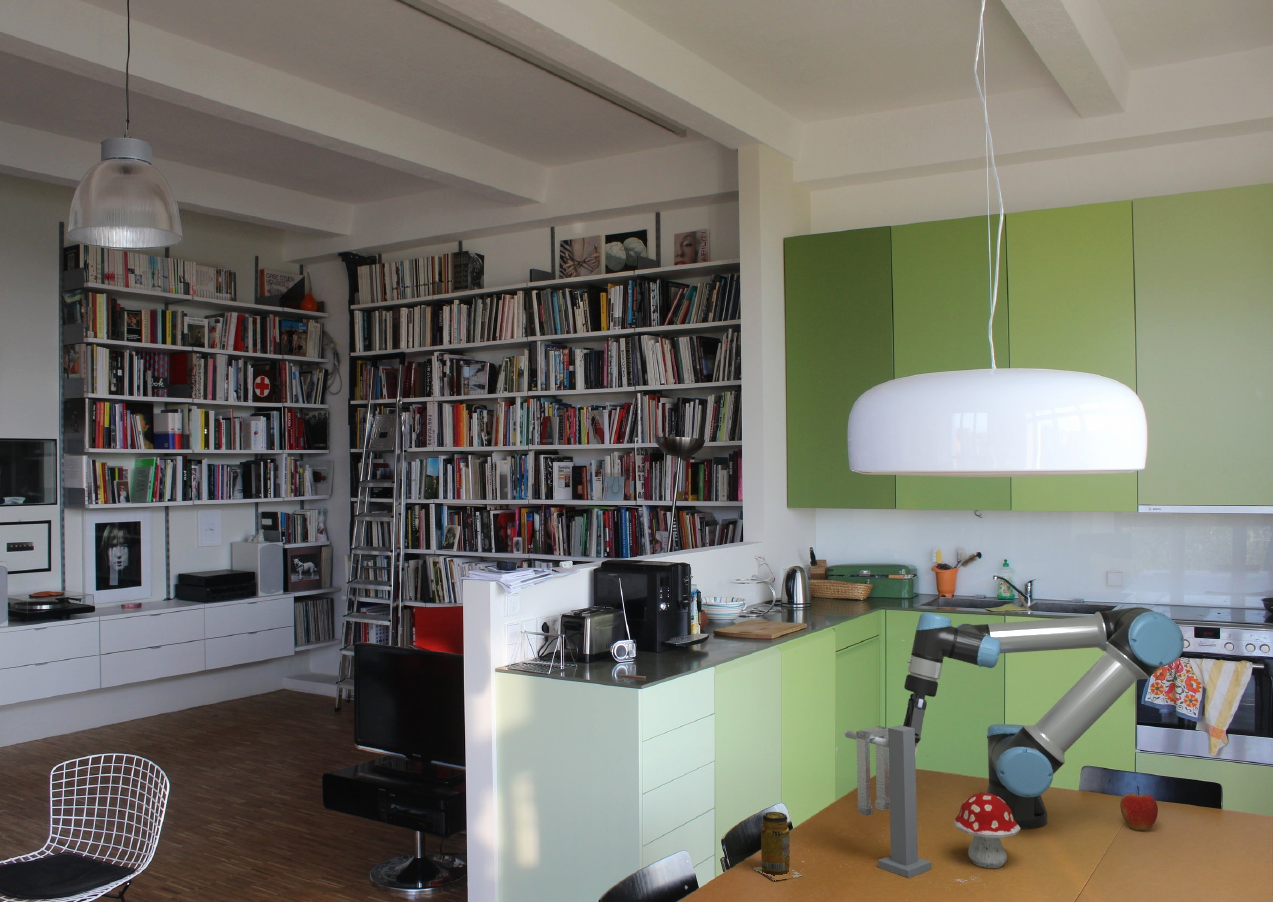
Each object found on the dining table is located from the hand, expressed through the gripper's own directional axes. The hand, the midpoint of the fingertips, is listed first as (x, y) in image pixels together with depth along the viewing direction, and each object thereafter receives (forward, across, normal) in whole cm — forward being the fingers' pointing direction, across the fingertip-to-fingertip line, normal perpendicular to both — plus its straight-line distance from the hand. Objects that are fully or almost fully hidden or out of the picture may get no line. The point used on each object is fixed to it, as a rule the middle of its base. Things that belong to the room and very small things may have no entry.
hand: (904, 765), depth 235 cm
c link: (+10, +15, -6) cm, 19 cm away
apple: (+2, -15, +57) cm, 59 cm away
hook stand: (+19, +16, -2) cm, 25 cm away
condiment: (+26, +26, -24) cm, 44 cm away
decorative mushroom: (+14, +14, +20) cm, 28 cm away
